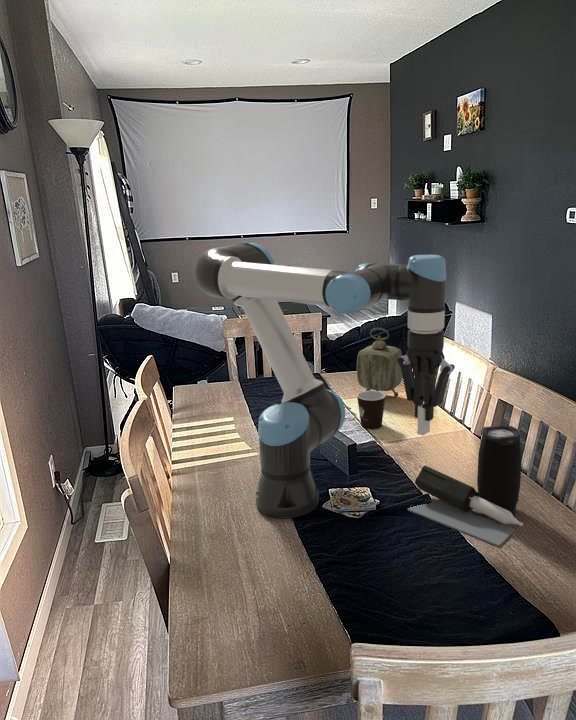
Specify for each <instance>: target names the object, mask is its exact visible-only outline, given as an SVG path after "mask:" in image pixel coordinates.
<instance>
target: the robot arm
mask: <svg viewBox="0 0 576 720" xmlns="http://www.w3.org/2000/svg"><path fill="white" fill-rule="evenodd" d="M446 264H447V263H446V259H445V258H444V257H443V256H442V255H439V254H415V255H412V256H410V257H409V258H408V262H407V264H393V263H378V262H370V263H361V264H359V265H358V266H357V268H356V269H355V270H354V271H345V270H335V269H324V268H317V267H316V268H314V267H305V266H304V267H302V266H293V265H292V266H291V265H280V264H275V261H274V259H273V257H272V254H271V253H270V252H269V251H268V250H267V248H265V247H264V246H263V245H261V244H258V243H254V242H239V243H237V244H232V245H225V246H220V247H213V248H210V249H207V250H206V251H204V252H203V253H202V254H200V256H199V257H198V258H197V259H196V262H195V264H194V269H193V276H194V280H195V281H194V282H195V283H196V285H197V287H198V288H199V290H201V292H203V293H204V294H206V295H207V296H210V297H214V298H221V299H228V300H229V299H231V301H232V302H233V305H234V306H237V307H239V308H242V310H243V311H244V314H245V315H246V318H247V320H248V322H249V324H250V326H251V329H252V330H253V332H254V334H255V336H256V338H257V340H258V343H259V345H260V347H261V349H262V351H263V353H264V355H265V357H266V359H267V360H268V363H269V365H270V367H271V369H272V371H273V374H274V375H275V377H276V380H277V382H278V383H279V386H280V389H281V390H282V392H283V396H282V399H281V402H280V403H279V404H273V405H271V406H269V407H267V408H266V409H264V410H263V411H262V413H261V414H260V415H259V417H258V426H257V427H258V428H257V435H258V441H259V442H258V443H259V445H258V446H259V458H260V471H261V472H260V477H259V481H258V487H257V489H256V492H255V506H256V508H257V510H258V511H259V512H261V513H263V514H264V515H266V516H267V517H268V516H269V517H272V518H278V519H293V518H297V517H298V518H299V517H302V516H304V515H307V514H309V513H311V512H312V510H313V511H314V510H315V509H316V508H317V507H318V505H319V502H320V499H319V498H320V497H319V496H320V495H319V489H318V487H317V485H316V482H315V479H314V477H313V474H312V471H311V452H312V451H313V450H315V449H316V448H317V447H319V446H320V445H321V444H323V443H324V442H326V441H328V440H329V439H332V438H333V437H334V436H335V435H336V434H337V433H338V432H339V431H340V430H341V429H342V427H343V425H344V423H345V420H346V407H345V405H344V402H343V400H342V399H341V397H340V395H338V394H337V393H336V392H333V390H330V389H327V387H326V385H325V383H324V382H323V381H322V380H320V379H316V378H315V376H314V374H313V373H312V370H311V368H310V366H309V364H308V362H307V360H306V357H305V356H304V354H303V352H302V350H301V348H300V346H299V343H298V342H297V339H296V337H295V335H294V333H293V331H292V329H291V327H290V325H289V323H288V321H287V319H286V316H285V315H284V312H283V310H282V308H281V307H280V304H279V303H278V301H282V302H289V303H296V304H304V305H310V306H319V307H320V306H321V307H326V308H327V307H328V308H330V309H332V310H333V311H335V312H336V313H338V314H341V315H342V314H343V315H345V314H346V315H347V314H352V313H356V312H359V311H361V310H362V309H365V308H367V307H370V306H371V305H374V304H377V303H380V302H381V301H384V300H393V301H394V300H395V301H407V328H408V330H407V347H408V348H407V351H406V354H404V355H402V357H400V358H398V359H397V362H398V363H399V365H400V367H401V371H402V376H403V377H402V381H403V386H404V390H405V395H406V399H407V401H409V402H412V403H413V405H414V417H415V419H417V431H416V434H417V435H420V436H424V435H427V434H428V433H430V432H431V421H432V420H433V419H434V410H435V409H434V408H435V407H438V406H439V405H441V404H443V401H444V397H445V393H446V391H447V390H446V389H447V386H448V384H449V383H448V382H449V379H450V375H451V374H452V372H453V371H454V370H455V368H456V367H455V365H454V364H453V363H451V364H450V363H449V362H447V361H446V360H445V359H446V358H445V355H444V347H445V346H444V345H445V331H444V330H443V329H444V328H445V317H446V316H445V315H446V314H445V313H446V310H445V309H446V304H445V303H446V287H447V286H446V285H447V270H446V266H447V265H446ZM438 368H440V369H438ZM438 370H439V372H440V373H439V374H438V378H437V382H436V377H437V373H438Z"/></svg>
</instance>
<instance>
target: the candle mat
mask: <svg viewBox="0 0 576 720" xmlns="http://www.w3.org/2000/svg"><path fill="white" fill-rule="evenodd" d="M431 501H432V503H430V504H423V505H422V504H421V505H417V506H413V507H411V506H409V507H410V508H409V507H408V508H407V511H408V512H410V513H413V514H415V515H418V516H420V517H422V518H426V519H428V520H431V521H433V522H435V523H438V524H441V525H443V526H445V527H447V528H451V529H453V530H455V531H458V532H460V533H463V534H465V535H468V536H470V537H472V538H476V539H478V540H481V541H483V542H485V543H488V544H491V545H493V546H496V547H498V548H500V546H501V545H503V544H504V543H505V542H506V541H507V540H508V538H510V537H511V536H512V535H513V534H514V533H515V532H516V529H514V528H512V527H509V526H507V525H505V524H502V523H500V522H499V523H498V522H495V521H494V520H490V519H488V518H484V517H482V516H480V515H477V514H474V513H472V512H470V511H469V512H465V511H463V510H461V509H459V508H457V507H455V506H453V505H451V504H448V503H446V502H445V503H444V502H441V501H439V500H436V499H434V498H431Z"/></svg>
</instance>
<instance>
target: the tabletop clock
mask: <svg viewBox="0 0 576 720" xmlns="http://www.w3.org/2000/svg"><path fill="white" fill-rule="evenodd" d="M373 331H383V332H385V334H387V336H386V337H381V335H377V337H375V336H373V335H372V333H373ZM369 335H370V337H371V338H372V339H374V340H375V341H374V342H373V343H372V344H371V345H367V346H366V347H365V348H363V349H361V350H359V351H358V354H357V359H356V377H357V381H358V382H357V383H358V385H359V386H361V388H365V391H379V392H381V391H382V392H390V391H392V393H393V396H394V397H398V396H399V392H396V391H395V388H396V387H398V386H399V385H401V383H402V381H403V376H402V371H401V367H400V365H399V363H398V362H397V359H398V358H400V357H402V356H403V353H402V350H401V349H399V347H396V346H391V345H387V343H386V342H385V341H384V340H387V339H389V336H390V334H389V331H388V330H387V329H385V328H383V327H373V328H372V329H371V330H370V332H369Z"/></svg>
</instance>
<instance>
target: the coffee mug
mask: <svg viewBox="0 0 576 720" xmlns="http://www.w3.org/2000/svg"><path fill="white" fill-rule="evenodd" d="M356 398H357V405H358V412H359V420H360V425H361V426H362V427H363V429H365V428H366V429H365V430H369V429H370V430H373V431H374V430H378V429H381V428H382V424H383V419H384V408H385V404H386V403H385V401H386V394H385V393H384V392H383V391H382V392H381V391H376V390H371V391H366V390H364V391H363V390H362V391H360V392H358V393H357V394H356ZM362 427H361V428H362Z"/></svg>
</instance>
